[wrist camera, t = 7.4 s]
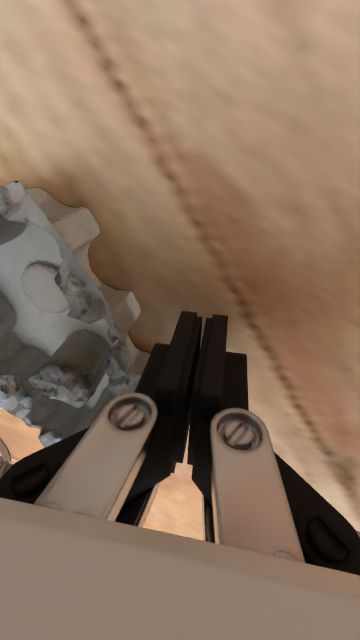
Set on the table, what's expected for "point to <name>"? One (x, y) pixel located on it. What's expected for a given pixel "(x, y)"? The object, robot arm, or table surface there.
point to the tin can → (4, 453)
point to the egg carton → (59, 318)
